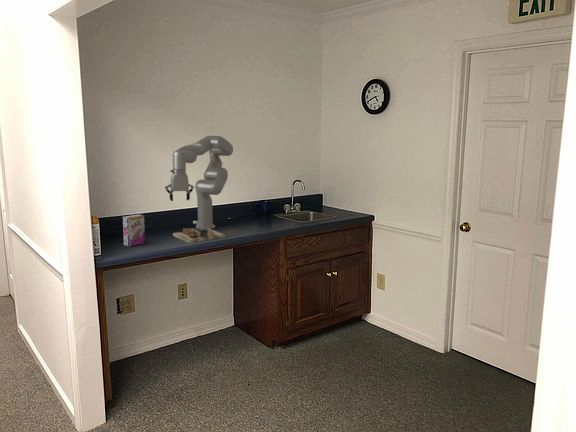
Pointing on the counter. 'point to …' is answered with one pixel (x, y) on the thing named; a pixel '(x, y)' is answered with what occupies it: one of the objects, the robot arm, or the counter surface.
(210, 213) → the robot arm
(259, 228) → the counter surface
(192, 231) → the lever
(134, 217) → the candy bar box
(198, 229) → the keeper
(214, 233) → the board
